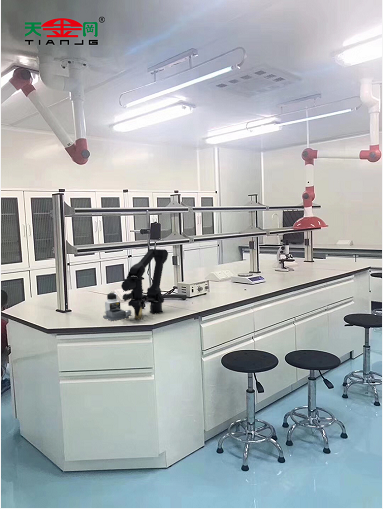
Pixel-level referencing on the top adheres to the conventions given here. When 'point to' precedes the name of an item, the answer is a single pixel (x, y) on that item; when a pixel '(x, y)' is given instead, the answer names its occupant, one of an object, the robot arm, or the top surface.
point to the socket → (117, 314)
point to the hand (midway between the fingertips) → (138, 314)
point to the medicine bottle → (112, 302)
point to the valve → (139, 314)
